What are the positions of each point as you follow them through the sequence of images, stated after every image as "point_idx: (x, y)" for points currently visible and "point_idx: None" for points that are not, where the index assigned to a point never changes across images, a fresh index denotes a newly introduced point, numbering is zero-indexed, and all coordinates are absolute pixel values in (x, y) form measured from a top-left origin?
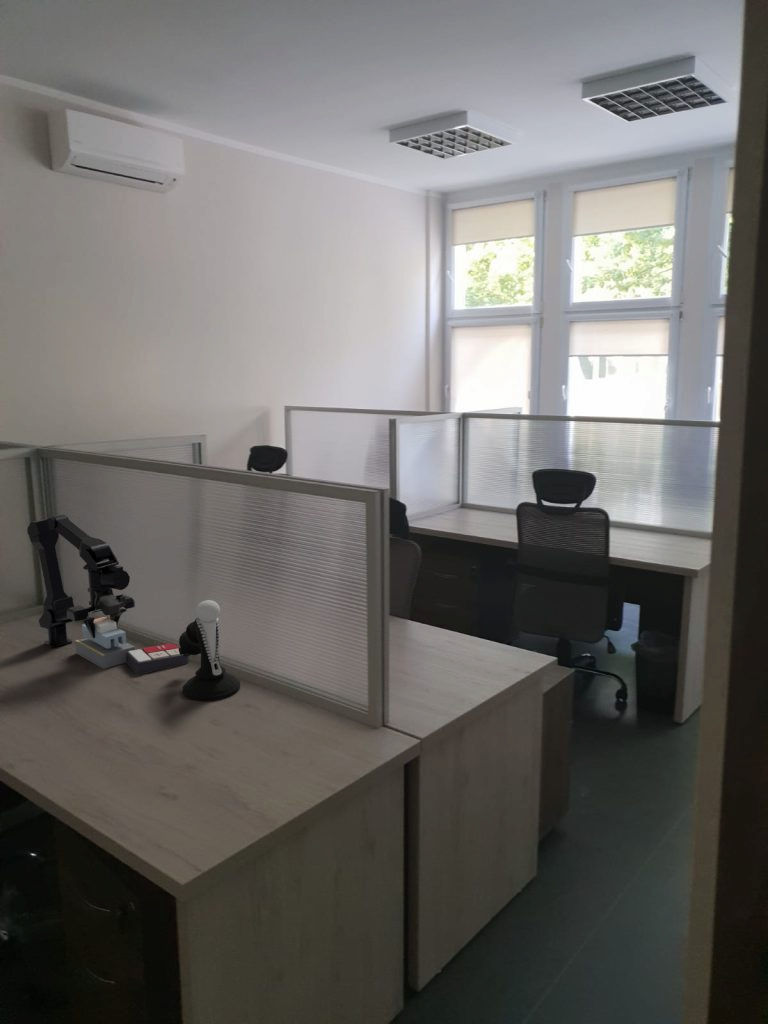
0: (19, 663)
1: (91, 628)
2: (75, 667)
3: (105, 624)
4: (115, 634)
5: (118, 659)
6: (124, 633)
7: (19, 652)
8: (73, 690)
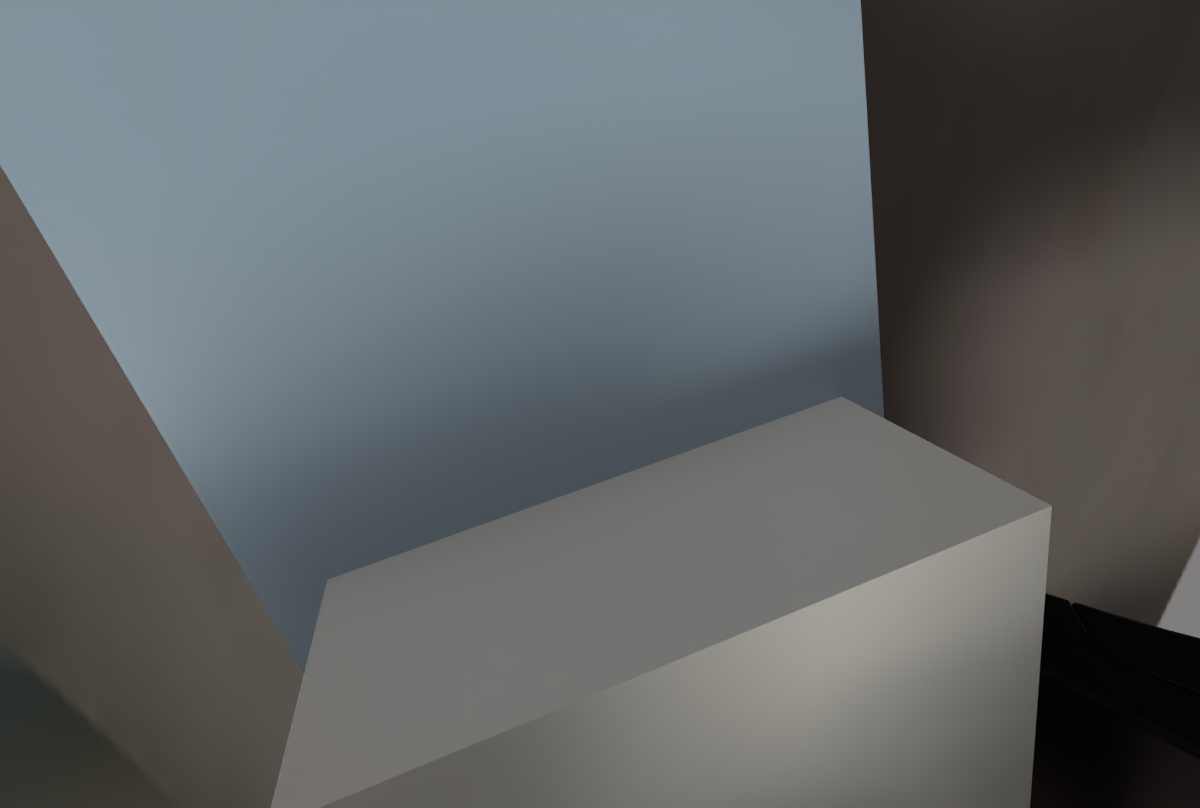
0: (1131, 575)
1: (1076, 613)
2: (889, 257)
3: (816, 627)
4: None
5: None
6: (13, 6)
7: None
8: None
